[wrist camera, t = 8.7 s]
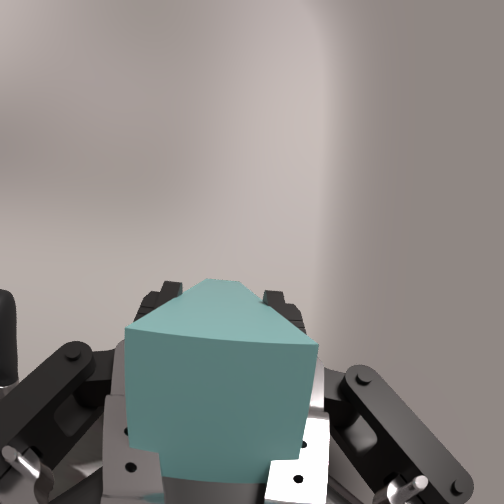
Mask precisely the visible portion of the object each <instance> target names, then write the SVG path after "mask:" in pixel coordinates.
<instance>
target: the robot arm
mask: <svg viewBox="0 0 504 504" xmlns="http://www.w3.org/2000/svg"><path fill="white" fill-rule="evenodd" d="M180 295H182V283H179V282H171V281H165V282H164V283H163V286H162V289H161V291H160V292H155V291H151V292H150V293H149V294H148V295H146V296H145V297H144V298H143V301H142V303H141V305H140V308H139V310H138V312H137V314H136V317H135V319H134V322H135V321H137V320H138V319H140V318H142V317H143V316H145V315H147V314H148V313H150V312H152V311H153V310H155V309H157V308H158V307H160V306H162V305H163V304H165V303H167V302H168V301H170V300H172V299H173V298H177V297H179V296H180ZM263 302H264V303H265V304H266V305H267V306H270V307H271V308H273V309H274V310H275V311H276V312H278V313H279V314H280V315H282V316H283V317H284V318H285V319H287V320H288V321H289V322H290V323H292V324H293V325H294V326H296V327H297V328H298V329H299V330H301V331H302V332H303V333H305V334H306V330H305V329H304V328H305V327H304V323H303V319H302V316H301V312H300V311H299V310H298V308H297V307H296V306H295V305H294V304H286V303H285V300H284V296H283V292H281V291H280V292H279V291H268V290H265V292H264V296H263ZM16 323H17V322H16V305H15V301H14V297H13V295H12V294H11V293H10V292H9V291H6V290H2V289H0V502H1V503H2V504H352V503H350V502H349V501H348V500H347V499H345V498H344V497H343V496H342V495H340V494H339V493H338V492H337V491H336V490H334V489H333V488H332V487H331V486H330V485H329V484H327V470H328V446H329V433H330V434H331V436H332V437H333V439H334V440H335V441H336V443H337V444H338V445H339V447H340V448H341V450H342V451H343V452H344V453H345V455H346V456H347V458H348V459H349V460H350V462H351V463H352V465H353V466H354V467H355V468H356V470H357V471H358V473H359V474H360V475H361V477H362V478H363V479H364V481H365V482H366V483H367V485H368V486H369V487H370V488H371V490H372V491H373V492H374V494H375V495H374V497H373V503H372V504H464V503H465V502H467V501H468V500H469V499H470V497H471V496H472V493H473V490H474V484H473V480H472V478H471V476H470V475H469V474H468V472H467V471H466V470H465V469H464V468H463V467H462V466H461V464H460V463H459V462H458V461H457V460H456V459H455V458H454V457H453V456H452V454H451V453H450V452H449V451H448V450H447V449H446V448H445V447H444V446H443V444H442V443H441V442H440V441H439V440H438V439H437V438H436V437H435V436H434V434H433V433H432V432H431V431H430V430H429V429H428V428H427V427H426V426H425V424H423V422H422V421H421V420H420V419H419V418H418V417H417V416H416V415H415V414H414V412H413V411H412V410H411V409H410V408H409V407H408V406H407V405H406V404H405V403H404V401H403V400H402V399H401V398H400V397H399V396H398V395H397V394H396V393H395V392H394V391H393V389H392V388H391V387H390V386H389V385H388V384H387V383H386V382H385V381H384V380H383V379H382V378H381V376H380V375H379V374H378V373H377V372H376V371H375V370H373V369H372V368H370V367H368V366H365V365H354V366H351V367H350V368H349V369H348V370H347V371H346V373H342V372H338V371H334V370H329V369H327V368H325V367H324V365H323V363H322V361H321V360H320V359H319V358H318V357H317V361H316V368H315V375H314V381H313V388H312V394H311V400H310V406H309V411H308V417H307V422H306V428H305V433H304V438H303V443H302V448H301V452H300V457H299V460H288V461H272V462H271V465H270V468H269V471H268V474H267V477H266V481H265V483H222V482H207V481H196V480H187V479H179V478H172V477H165V476H163V471H162V467H161V462H160V457H159V453H156V452H150V451H145V450H140V449H135V448H130V447H129V438H128V427H127V414H126V396H125V339H124V340H122V341H121V342H120V343H118V345H117V346H116V348H115V349H112V350H108V351H95V352H92V350H91V348H90V347H89V345H87V344H86V343H83V342H80V341H72V342H69V343H66V344H64V345H63V346H61V347H60V348H59V349H58V350H57V351H55V352H54V353H53V354H52V355H51V356H50V357H49V358H47V359H46V360H45V361H44V362H43V363H42V364H40V365H39V366H38V367H37V368H36V369H35V370H34V371H32V372H31V373H30V374H29V375H28V376H27V377H26V378H25V379H23V380H22V381H21V382H20V383H19V378H18V368H17V367H18V363H17V362H18V358H17V340H16ZM306 335H307V334H306ZM103 412H104V425H103V466H102V467H101V468H99V469H98V470H97V471H95V472H94V473H92V474H91V475H89V476H88V477H87V478H85V479H84V480H82V481H81V482H79V483H78V484H76V485H75V486H73V487H72V488H70V489H69V490H67V491H66V492H64V493H63V494H61V495H60V496H58V497H56V498H55V499H53V500H52V501H50V502H49V500H48V498H49V493H50V491H52V489H53V485H54V476H53V473H52V470H53V469H54V468H55V467H56V466H57V465H58V463H59V462H60V461H61V460H62V459H63V458H64V456H65V455H66V454H67V453H68V452H69V451H70V450H71V448H72V447H73V446H74V445H75V444H76V443H77V442H78V440H79V439H80V438H81V437H82V436H83V435H84V434H85V433H86V431H87V430H88V429H89V428H90V427H91V426H92V425H93V423H94V422H95V421H96V420H97V419H98V418H99V417H100V415H101V414H102V413H103ZM133 470H136V471H133ZM293 481H294V482H293Z"/></svg>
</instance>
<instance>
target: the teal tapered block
mask: <svg viewBox="0 0 504 504" xmlns="http://www.w3.org/2000/svg"><path fill="white" fill-rule="evenodd" d="M318 347H319V344H318V343H316V342H315V341H313V340H312V339H311V338H310V337H308V336H307V335H306V334H305V333H303V332H302V331H301V330H299V329H298V328H297V327H296V326H294V325H293V324H292V323H290V322H289V321H288V320H287V319H285V318H284V317H283V316H282V315H280V314H279V313H278V312H276V311H275V310H274V309H273V308H271V307H270V306H267V305H266V304H265V303H264V302H263V300H261V299H260V298H259V297H258V296H256V295H255V294H254V293H253V292H251V291H250V290H249V289H247V288H246V287H245V286H244V285H243V284H241V283H240V282H237V281H227V280H216V279H205V280H204V281H202V282H200V283H199V284H197V285H195V286H194V287H192V288H190V289H189V290H187V291H185V292H183V293H182V295H180V296H179V297H177V298H173V299H172V300H170V301H168V302H167V303H165V304H163V305H162V306H160V307H158V308H157V309H155V310H153V311H152V312H150V313H148V314H147V315H145V316H143V317H142V318H140V319H138V320H137V321H135V322H133V323H132V324H130V325H129V326H127V327H125V396H126V414H127V427H128V438H129V447H130V448H135V449H140V450H145V451H150V452H156V453H159V457H160V462H161V467H162V471H163V476H165V477H172V478H179V479H187V480H196V481H207V482H222V483H265V481H266V477H267V474H268V471H269V468H270V465H271V462H272V461H288V460H299V457H300V452H301V448H302V443H303V438H304V433H305V428H306V422H307V417H308V411H309V406H310V400H311V394H312V388H313V381H314V375H315V368H316V361H317V354H318ZM133 471H136V470H133ZM293 482H294V481H293Z"/></svg>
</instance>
